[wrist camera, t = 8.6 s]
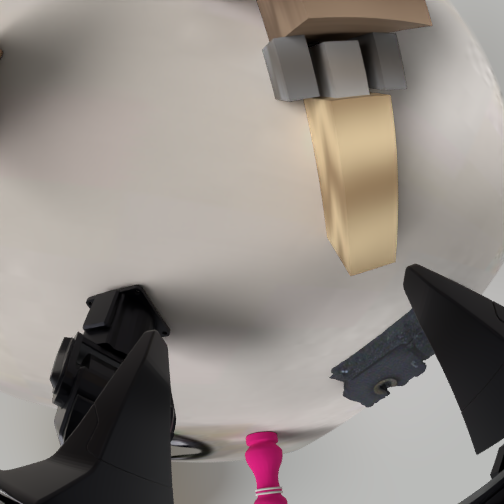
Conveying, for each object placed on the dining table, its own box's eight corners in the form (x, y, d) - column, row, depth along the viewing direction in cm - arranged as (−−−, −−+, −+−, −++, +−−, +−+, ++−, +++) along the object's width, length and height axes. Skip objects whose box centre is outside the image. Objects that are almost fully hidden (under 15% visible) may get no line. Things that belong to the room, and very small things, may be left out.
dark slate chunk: (469, 311, 32) (484, 332, 28) (369, 390, 40) (377, 412, 36) (448, 267, 26) (471, 293, 22) (317, 374, 34) (325, 403, 30)
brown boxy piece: (400, 84, 15) (509, 106, 6) (238, 107, 16) (256, 126, 7) (368, -32, 9) (455, -72, 1) (198, -22, 10) (178, -106, 2)
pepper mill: (236, 435, 45) (245, 525, 28) (270, 427, 43) (284, 522, 27) (253, 442, 49) (263, 523, 32) (284, 435, 47) (299, 518, 31)
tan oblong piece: (366, 227, 21) (395, 261, 17) (327, 237, 21) (350, 276, 17) (341, 47, 13) (379, 38, 9) (291, 52, 14) (316, 40, 9)
